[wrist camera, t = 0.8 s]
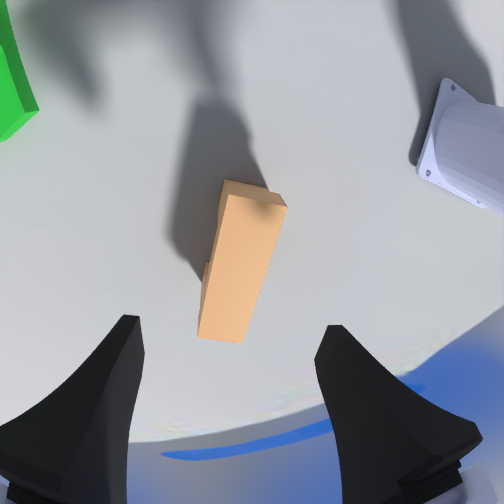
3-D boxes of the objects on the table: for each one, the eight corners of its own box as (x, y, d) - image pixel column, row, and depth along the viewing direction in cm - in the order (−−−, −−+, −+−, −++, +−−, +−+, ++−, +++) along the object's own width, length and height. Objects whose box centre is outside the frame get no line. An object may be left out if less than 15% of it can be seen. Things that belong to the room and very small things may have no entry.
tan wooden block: (270, 179, 18) (287, 206, 14) (237, 295, 22) (242, 343, 18) (226, 169, 17) (228, 194, 13) (200, 289, 21) (197, 337, 17)
